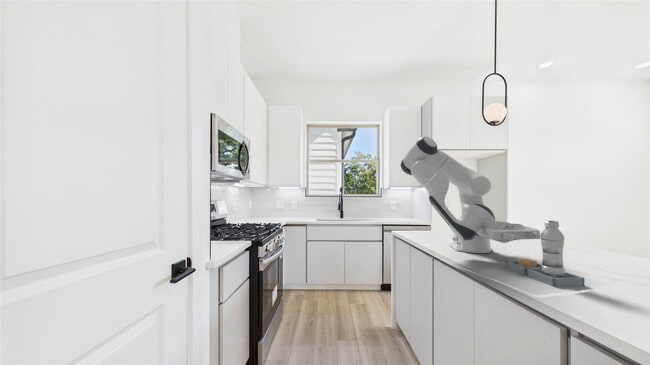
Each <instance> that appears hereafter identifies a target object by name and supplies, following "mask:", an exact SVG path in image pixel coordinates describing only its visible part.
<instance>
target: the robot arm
mask: <svg viewBox="0 0 650 365" xmlns="http://www.w3.org/2000/svg"><path fill="white" fill-rule="evenodd" d="M400 162H401V163H400V168H401V170H402V171H403V172H404V173H405V174H407V175H409V176H413V178H414V179H415V180H416V181H417V182H418V184H420V185H421V186H422V187H424V189H425V190H426V192H427V194H428V196H429V197H428V201H429V202H430V204H431V205H432V207H433V208H434V209H435V211H436V212H437V213H438V214H439V216H440V217H441V218H442V219H443V221H444V222H445V223H446V224H447V225H448V227H449V228H450V229H451V231H452V232H453V233H454V235H453V236H452V241H453V242H452V243H448V246H449V247H450V248H452V249H453V250H455V251H457V252H464V253H471V254H489V253H491V251H492V252H493V251H494V250H493V247H491V241H492V240H493V241H496V242H499V243H502V244H505V243H509V242H514V241H521V240H541V238H540V235H541V231H540V229H538V228H534V227H530V226H525V225H523V224H520V223H510V222H506V221H499V220H496V217H495V216H496V215H495V214H494V212H493V211H492V209H491V208H489V207H487V206H486V205H485V204H484V201H483V196H485V195H487V194H488V193H489V192H490V190H491V188H492V183H491V181H490V179H489V178H487V177H486V176H484V175H481V174H480V173H479V172H477V171H474V170H473V169H471V168H469V167H467V166H466V165H464V164H462V163H460V162H459V161H457V160H456V159H455V158H453V157H451V156H450V155H449V154H447V153H445V152H444V151H442V150H440V149H438V144H437V143H436V142H435V141H434V139H433V138H431V137H429V136H421V137H419V138H418V139H417V140H416V142H415V143H414V144H413V145H412V146H411V147H410V149H408V151H407V153H406V155H405V156H404V157H403V159H402V160H401V161H400ZM450 184H452V185H454V186H456V188H457V191H458V195H459V201H460V202H459V203H460V206H461V216H460V217H459V218H458V219H457V218H456V217H455V216H454V214H453V213H452V212H451V211H450V210H449V209H448V207H447V206H446V204H445V203H446V202H445V201H446V197H447V193H448V191H449V186H450Z"/></svg>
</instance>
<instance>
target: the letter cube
mask: <svg viewBox="0 0 650 365" xmlns="http://www.w3.org/2000/svg"><path fill="white" fill-rule="evenodd" d="M517 261H518V265H520V266H523V267H537V262H538V261H536V260H534V259H530V258H518V260H517Z"/></svg>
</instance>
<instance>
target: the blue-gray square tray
mask: <svg viewBox="0 0 650 365" xmlns="http://www.w3.org/2000/svg"><path fill="white" fill-rule="evenodd" d="M506 264H507V266H506V267H507V269H510V270H512V271H514V272H517V273H519V274H523V275H525V276H527V271H526V269H541V266H542V263H541V264H540V263H537V267H523V266H520V265H518V260H513V261H511V260H509V261H507V263H506Z"/></svg>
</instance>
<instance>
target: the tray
mask: <svg viewBox="0 0 650 365" xmlns="http://www.w3.org/2000/svg"><path fill="white" fill-rule="evenodd" d="M526 271H527V275H526V277H529V278H531V279H533V280H536V281H538V282H540V283H544V284H545V285H548V286H551V287H553V288H559V287H560V288H562V287H565V288H566V287H585V277H582V276H579V275H576V274H573V273H570V272H567V271H565V274H566V275H565V278H552V277H549V276H546V275H544V274H541V269H526Z"/></svg>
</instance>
